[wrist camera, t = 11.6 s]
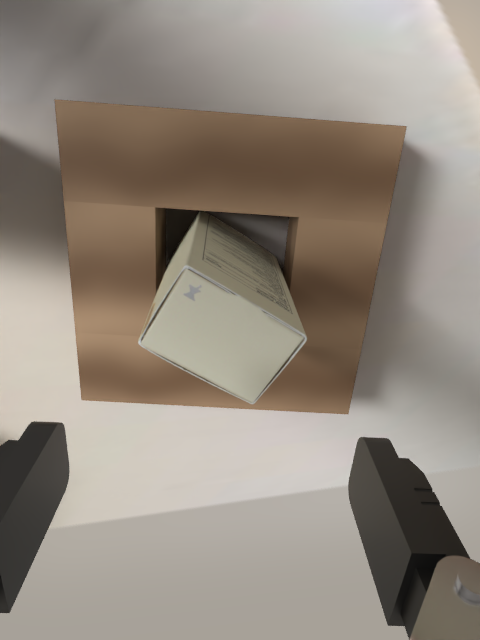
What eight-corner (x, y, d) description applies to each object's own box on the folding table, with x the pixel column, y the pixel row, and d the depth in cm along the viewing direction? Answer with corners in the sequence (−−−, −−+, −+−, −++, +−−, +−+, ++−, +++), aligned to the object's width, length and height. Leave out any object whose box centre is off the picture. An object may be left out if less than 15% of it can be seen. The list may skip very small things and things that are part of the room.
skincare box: (167, 261, 30) (126, 342, 18) (201, 206, 28) (178, 258, 17) (247, 309, 31) (253, 411, 20) (282, 259, 30) (311, 339, 18)
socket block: (80, 103, 26) (54, 99, 22) (383, 126, 26) (406, 126, 23) (98, 369, 33) (81, 400, 29) (335, 383, 34) (348, 414, 30)
